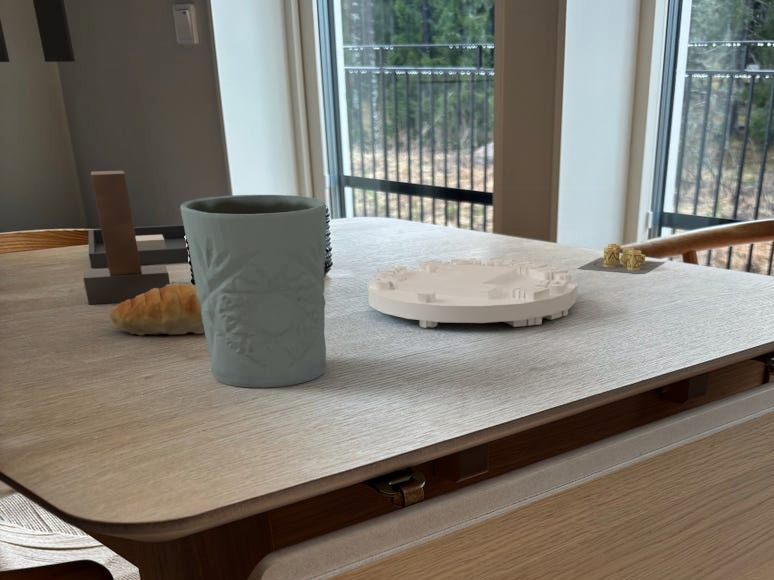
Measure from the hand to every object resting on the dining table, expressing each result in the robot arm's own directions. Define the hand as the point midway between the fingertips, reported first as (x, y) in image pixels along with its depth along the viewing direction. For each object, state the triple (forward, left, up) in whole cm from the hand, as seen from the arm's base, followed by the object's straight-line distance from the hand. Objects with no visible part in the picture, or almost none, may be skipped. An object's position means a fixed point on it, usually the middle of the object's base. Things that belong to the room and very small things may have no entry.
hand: (28, 62), depth 91 cm
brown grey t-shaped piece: (+6, -2, -21) cm, 22 cm away
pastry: (+15, -15, -21) cm, 30 cm away
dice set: (+57, +17, -21) cm, 63 cm away
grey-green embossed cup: (+27, -29, -21) cm, 45 cm away
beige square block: (0, +21, -20) cm, 29 cm away
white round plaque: (+41, -6, -21) cm, 47 cm away
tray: (0, +21, -21) cm, 29 cm away
